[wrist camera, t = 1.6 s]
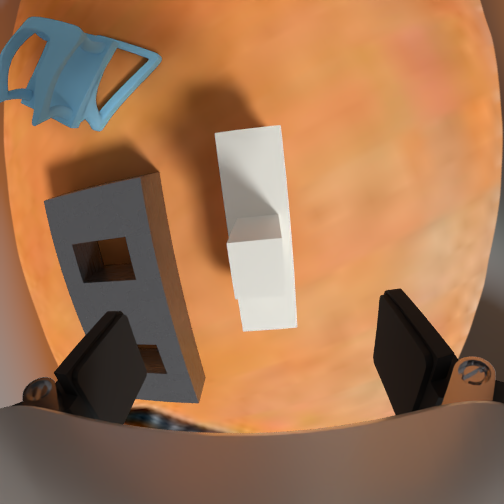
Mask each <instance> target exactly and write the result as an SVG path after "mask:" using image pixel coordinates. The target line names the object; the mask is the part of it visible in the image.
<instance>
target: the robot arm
mask: <svg viewBox="0 0 504 504" xmlns="http://www.w3.org/2000/svg"><path fill="white" fill-rule="evenodd" d="M373 359H374V364H375V367H376V369H377V371H378V374H379V376H380V378H381V381H382V383H383V385H384V388H385V390H386V392H387V395H388V397H389V400H390V402H391V405H392V407H393V410H394V412H395V416H391V417H386V418H381V419H376V420H371V421H365V422H359V423H353V424H347V425H341V426H334V427H327V428H319V429H310V430H299V431H286V432H269V433H201V432H184V431H172V430H161V429H152V428H144V427H137V426H130V425H123V424H124V422H125V420H126V418H127V416H128V413H129V411H130V409H131V407H132V405H133V403H134V401H135V399H136V397H137V395H138V393H139V391H140V389H141V387H142V385H143V383H144V381H145V379H146V376H147V370H146V367H145V364H144V362H143V359H142V357H141V354H140V351H139V349H138V346H137V343H136V340H135V337H134V335H133V332H132V329H131V326H130V323H129V320H128V317H127V316H126V315H124V314H123V312H121V311H107V312H106V313H105V314H104V315H103V316H102V317H101V319H100V320H99V321H98V322H97V323H96V324H95V325H94V326H93V328H92V329H91V330H90V331H89V332H88V333H87V334H86V335H85V337H84V338H83V339H82V340H81V341H80V342H79V343H78V345H77V346H76V347H75V348H74V349H73V350H72V352H71V353H70V354H69V355H68V356H67V357H66V359H65V360H64V361H63V362H62V363H61V365H60V366H59V367H58V368H57V369H56V371H55V372H54V374H55V376H56V377H57V379H58V381H57V382H56V383H55V381H54V380H53V379H51V378H48V377H42V378H38V379H36V380H34V381H32V382H31V383H29V384H28V386H26V388H25V389H24V391H23V402H20V403H17V404H15V405H12V406H9V407H4V408H0V504H504V382H500V381H497V380H495V378H496V375H495V370H494V368H493V366H492V365H491V364H490V363H489V362H488V361H486V360H484V359H482V358H479V357H465V358H462V359H460V360H458V359H457V357H456V356H455V355H454V352H453V351H452V350H451V348H450V347H449V346H448V344H447V343H446V342H445V341H444V339H443V338H442V337H441V336H440V334H439V333H438V332H437V331H436V329H435V328H434V327H433V326H432V325H431V323H430V322H429V321H428V320H427V318H426V317H425V316H424V315H423V314H422V312H421V311H420V310H419V309H418V308H417V307H416V305H415V304H414V303H413V302H412V301H411V300H410V298H409V297H408V296H407V295H406V294H405V293H404V292H403V290H402V289H393V290H386V291H385V293H384V295H381V296H380V300H379V311H378V321H377V331H376V339H375V347H374V354H373Z"/></svg>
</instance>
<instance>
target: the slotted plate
mask: <svg viewBox="0 0 504 504" xmlns="http://www.w3.org/2000/svg"><path fill="white" fill-rule="evenodd" d="M44 204H45V209H46V214H47V218H48V222H49V227H50V231H51V235H52V239H53V242H54V246H55V250H56V253H57V257H58V260H59V263H60V267H61V270H62V273H63V276H64V279H65V282H66V285H67V288H68V291H69V294H70V296H71V299H72V302H73V305H74V307H75V310H76V312H77V315H78V318H79V320H80V323H81V325H82V327H83V330H84V332H85V334H87V333H88V332H89V331H90V330H91V329H92V328H93V326H94V325H95V324H96V323H97V322H98V321H99V320H100V319H101V317H102V316H103V315H104V314H105V313H106V312H107V311H121V312H123V314H124V315H126V316H127V317H128V320H129V323H130V326H131V329H132V332H133V335H134V337H135V340H136V343H137V344H147V345H157V348H158V349H142V348H138V349H139V351H140V354H141V357H142V359H143V362H144V364H145V367H146V370H147V376H146V379H145V381H144V383H143V385H142V387H141V389H140V391H139V393H138V395H137V397H136V399H142V400H153V401H165V402H181V403H199V401H200V397H201V393H202V389H203V385H204V381H205V374H204V371H203V367H202V364H201V360H200V357H199V353H198V350H197V346H196V343H195V339H194V335H193V331H192V328H191V324H190V320H189V316H188V312H187V308H186V304H185V300H184V295H183V291H182V287H181V283H180V278H179V274H178V269H177V265H176V260H175V255H174V251H173V246H172V241H171V236H170V231H169V225H168V220H167V215H166V209H165V204H164V198H163V192H162V186H161V180H160V173H159V172H157V173H151V174H146V175H141V176H136V177H132V178H127V179H122V180H118V181H113V182H109V183H105V184H100V185H96V186H92V187H88V188H84V189H80V190H77V191H73V192H69V193H66V194H63V195H60V196H57V197H54V198H51V199H48V200H45V201H44ZM120 237H126V242H127V246H128V250H129V254H130V258H131V262H132V263H129V264H118V265H108V266H104V264H103V261H102V257H101V254H100V250H99V246H98V242H97V241H98V240H105V239H113V238H120Z"/></svg>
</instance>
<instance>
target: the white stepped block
mask: <svg viewBox="0 0 504 504" xmlns="http://www.w3.org/2000/svg"><path fill="white" fill-rule="evenodd" d="M215 140H216V148H217V156H218V164H219V171H220V179H221V186H222V193H223V200H224V208H225V215H226V222H227V229H228V236H229V239H228V241H227V250H228V256H229V263H230V269H231V276H232V282H233V288H234V295H235V299H238V302H239V308H240V314H241V321H242V327H243V331H257V330H271V329H284V328H295V327H297V314H296V296H295V280H294V265H293V251H292V238H291V225H290V213H289V202H288V191H287V181H286V171H285V161H284V152H283V143H282V134H281V126H280V125H278V126H268V127H258V128H249V129H241V130H233V131H226V132H219V133H215Z"/></svg>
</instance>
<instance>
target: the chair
mask: <svg viewBox="0 0 504 504" xmlns="http://www.w3.org/2000/svg"><path fill="white" fill-rule="evenodd" d="M34 33H36V34H37V35H38V36H39V37H40V38H42V39H43V40H45V41H47V44H46V46H45V48H44V50H43V53H42V55H41V57H40V59H39V62H38V64H37V66H36V68H35V70H34V73H33V75H32V77H31V79H30V81H29V83H28V85H27V88H26V89H15V90H11V91H8V72H9V67H10V64H11V60H12V58H13V57H14V55H15V53H16V51H17V50H18V49H19V47H20V46H21V45H22V44H23V43H24V42H25V41H26V40H27V39H28V38H29V37H30V36H32V35H33V34H34ZM117 48H119V49H122V50H125V51H128V52H131V53H134V54H137V55H140V56H143V57H145V58H148V59H149V60H148V61H147V62H146V63H145V64H144V65H143V66H142V67H141V68H140V69H139V70H138V71H137V72H136V73H135V74H134V75H133V76H132V77H131V78H130V79H129V80H128V81H127V82H126V83H125V84H124V85H123V86H122V87H121V88H120V89H119V90H118V91H117V92H116V93H115V94H114V95H113V96H112V97H111V98H110V100H109V101H108V102H107V103H106V104H105V105H104V106H103V108H102V109H101V110H100V111H98V109H97V105H96V94H97V90H98V86H99V83H100V80H101V78H102V75H103V72H104V70H105V68H106V66H107V64H108V63H109V61H110V60H111V58H112V56H113V54H114V52H115V51H116V49H117ZM161 61H162V58H161V56H160V55H159V54H157V53H155V52H152V51H149V50H147V49H144V48H141V47H138V46H135V45H131V44H128V43H125V42H122V41H118V40H115V39H112V38H108V37H104V36H101V35H97V36H95V35H91V34H87V33H84V32H83V31H82V30H81V29H80V28H79V27H78V26H75V25H73V24H69V23H65V22H62V21H58V20H53V19H49V18H43V17H29V18H28V19H27V20H26V21H25V22H24V23H23V24H22V26H21V27H20V28H19V29H18V30H17V31H16V33H15V34H14V35H13V36H12V37H11V39H10V40H9V41H8V43H7V44H6V46H5V47H4V48H3V50H2V52H1V54H0V103H1V102H3V101H5V100H11V99H22V101H21V103H22V104H24V105H26V106H28V107H30V108H33V109H34V113H33V119H32V125H33V126H36V125H38V124H40V123H42V122H44V121H46V120H48V119H50V118H53V119H55V120H57V121H58V122H60V123H62V124H64V125H66V126H68V127H70V128H78V127H79V125H80V122H82V121H83V120H84V119H85V120H86V121H87V122H88V123H89V125H90V126H91V128H92V129H93V130H95V131H102V129H103V128H104V127H105V125H106V124H107V122H108V121H109V120H110V118H111V117H112V116H113V114H114V113H115V112H116V110H117V109H118V108H119V107H120V106H121V105H122V103H123V102H124V101H125V100H126V99H127V98H128V97H129V96H130V95H131V94H132V93H133V91H134V90H135V89H136V88H137V87H138V86H139V85H140V84H141V83H142V82H143V81H144V80H145V79H146V78H147V77H148V76H149V75H150V74H151V73H152V72H153V71H154V70H155V68H156V67H157V66H158V65H159V64H160V62H161Z"/></svg>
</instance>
